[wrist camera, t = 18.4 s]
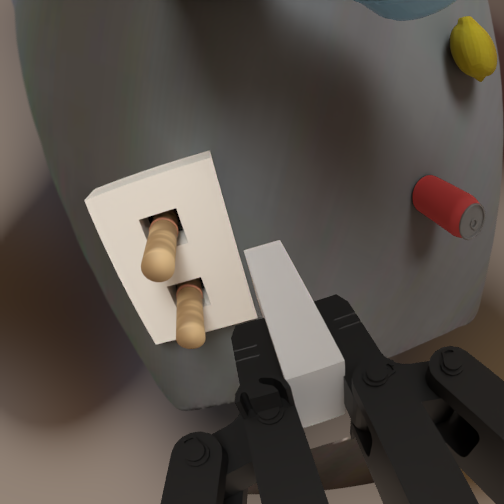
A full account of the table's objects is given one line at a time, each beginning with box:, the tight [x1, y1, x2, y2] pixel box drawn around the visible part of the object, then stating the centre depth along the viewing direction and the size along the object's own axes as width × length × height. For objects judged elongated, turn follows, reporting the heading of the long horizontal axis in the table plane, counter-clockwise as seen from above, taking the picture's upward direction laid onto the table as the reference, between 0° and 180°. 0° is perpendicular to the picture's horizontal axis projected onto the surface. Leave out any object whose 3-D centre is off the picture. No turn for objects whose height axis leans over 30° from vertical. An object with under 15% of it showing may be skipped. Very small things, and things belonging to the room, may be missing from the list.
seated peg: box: [141, 209, 178, 282], centre depth 36 cm, size 4×4×13 cm
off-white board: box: [84, 151, 257, 344], centre depth 43 cm, size 16×24×4 cm, turn 13°
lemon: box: [450, 16, 497, 82], centre depth 32 cm, size 11×8×8 cm
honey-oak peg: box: [176, 278, 205, 349], centre depth 41 cm, size 4×4×13 cm
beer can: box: [412, 175, 485, 240], centre depth 42 cm, size 7×7×12 cm
